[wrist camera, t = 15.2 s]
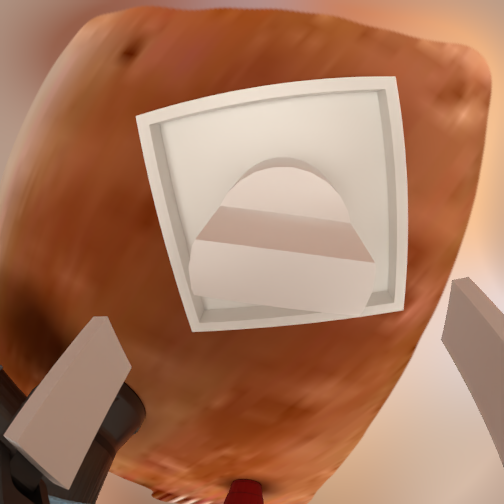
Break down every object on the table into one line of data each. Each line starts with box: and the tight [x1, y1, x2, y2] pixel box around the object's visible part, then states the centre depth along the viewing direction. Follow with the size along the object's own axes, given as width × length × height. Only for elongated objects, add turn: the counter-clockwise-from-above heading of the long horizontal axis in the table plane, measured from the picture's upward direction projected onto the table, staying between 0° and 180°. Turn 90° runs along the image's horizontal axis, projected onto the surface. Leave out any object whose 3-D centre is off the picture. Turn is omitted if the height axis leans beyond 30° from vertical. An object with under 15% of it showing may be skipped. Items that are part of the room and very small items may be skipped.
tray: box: [136, 77, 408, 332], centre depth 25 cm, size 20×20×3 cm
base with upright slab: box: [189, 157, 376, 316], centre depth 20 cm, size 9×9×12 cm
